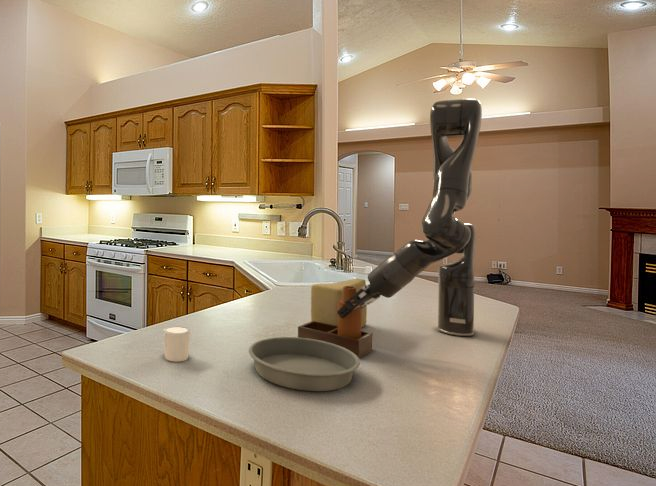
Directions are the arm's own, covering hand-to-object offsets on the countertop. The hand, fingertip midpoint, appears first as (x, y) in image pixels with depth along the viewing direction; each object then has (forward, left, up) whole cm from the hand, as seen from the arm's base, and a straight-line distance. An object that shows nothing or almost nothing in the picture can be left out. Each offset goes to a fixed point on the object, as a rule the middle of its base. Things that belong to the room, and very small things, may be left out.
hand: (346, 312), depth 120 cm
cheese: (-17, -8, -10) cm, 21 cm away
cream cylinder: (+37, -27, -10) cm, 47 cm away
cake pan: (+23, 0, -10) cm, 25 cm away
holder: (0, -3, -10) cm, 10 cm away
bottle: (0, +1, -9) cm, 9 cm away
